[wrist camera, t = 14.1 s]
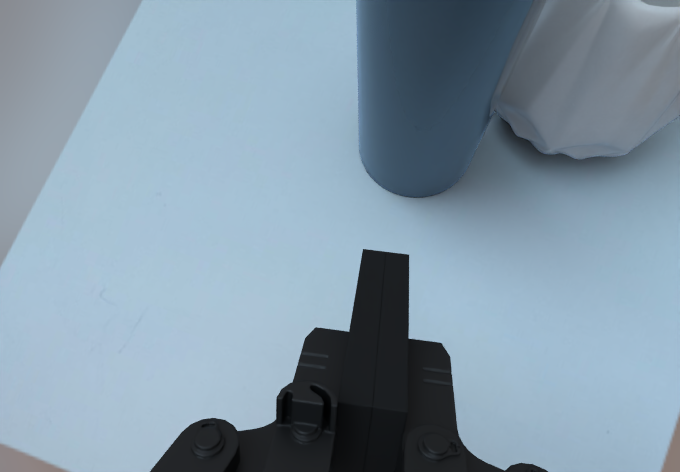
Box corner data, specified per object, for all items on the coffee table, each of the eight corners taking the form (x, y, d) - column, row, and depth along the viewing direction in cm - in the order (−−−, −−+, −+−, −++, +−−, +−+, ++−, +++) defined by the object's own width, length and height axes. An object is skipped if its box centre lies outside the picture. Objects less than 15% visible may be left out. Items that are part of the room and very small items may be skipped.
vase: (692, 99, 40) (877, -62, 26) (573, 211, 38) (702, 104, 24) (558, -6, 44) (654, -200, 29) (441, 92, 42) (482, -66, 27)
